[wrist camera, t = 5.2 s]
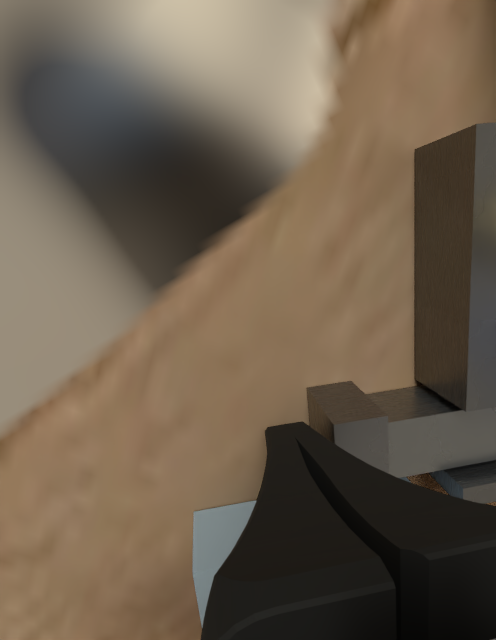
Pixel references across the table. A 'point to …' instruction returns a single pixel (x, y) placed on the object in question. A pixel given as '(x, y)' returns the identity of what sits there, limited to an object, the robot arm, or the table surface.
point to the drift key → (402, 428)
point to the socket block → (458, 285)
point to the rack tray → (216, 543)
